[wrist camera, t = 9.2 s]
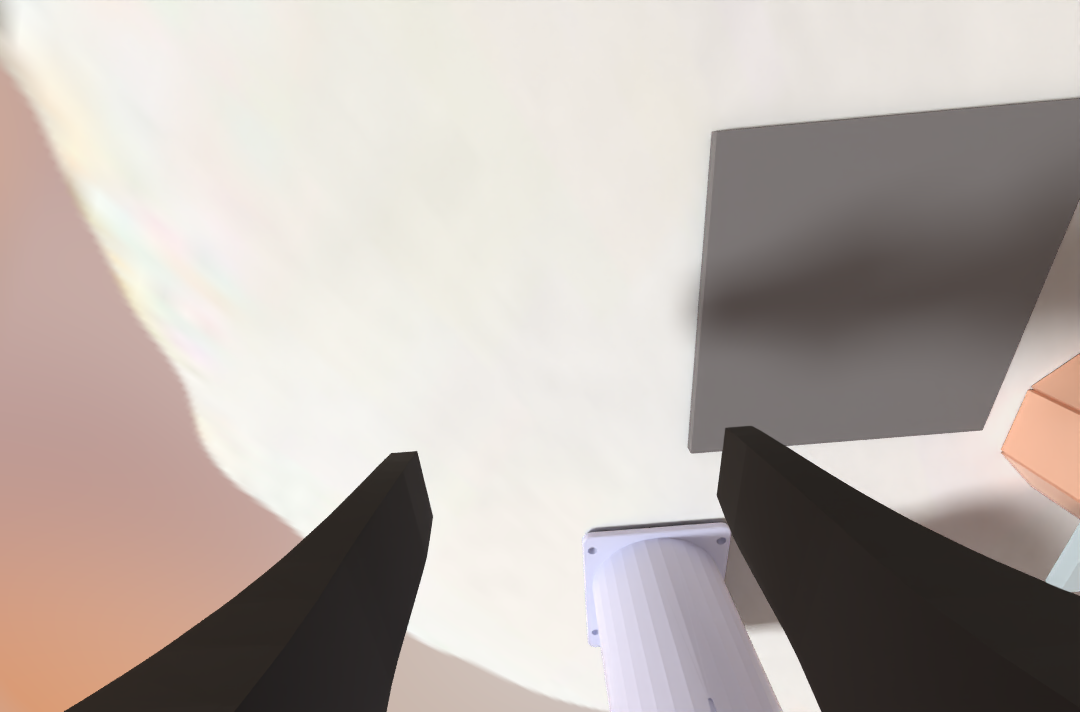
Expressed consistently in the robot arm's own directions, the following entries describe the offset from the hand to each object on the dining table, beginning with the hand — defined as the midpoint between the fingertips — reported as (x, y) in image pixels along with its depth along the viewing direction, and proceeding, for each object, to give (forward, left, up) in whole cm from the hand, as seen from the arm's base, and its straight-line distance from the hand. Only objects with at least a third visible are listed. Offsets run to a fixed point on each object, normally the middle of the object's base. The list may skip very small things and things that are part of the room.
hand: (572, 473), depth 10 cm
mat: (0, -13, -9) cm, 16 cm away
